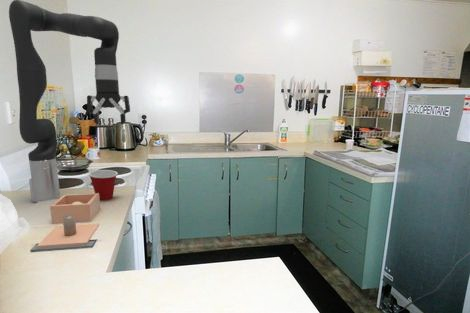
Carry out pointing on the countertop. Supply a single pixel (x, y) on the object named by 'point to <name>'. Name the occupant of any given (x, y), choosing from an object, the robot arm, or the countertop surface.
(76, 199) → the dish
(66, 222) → the lid
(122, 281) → the countertop surface
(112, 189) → the plastic cup
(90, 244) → the mat
